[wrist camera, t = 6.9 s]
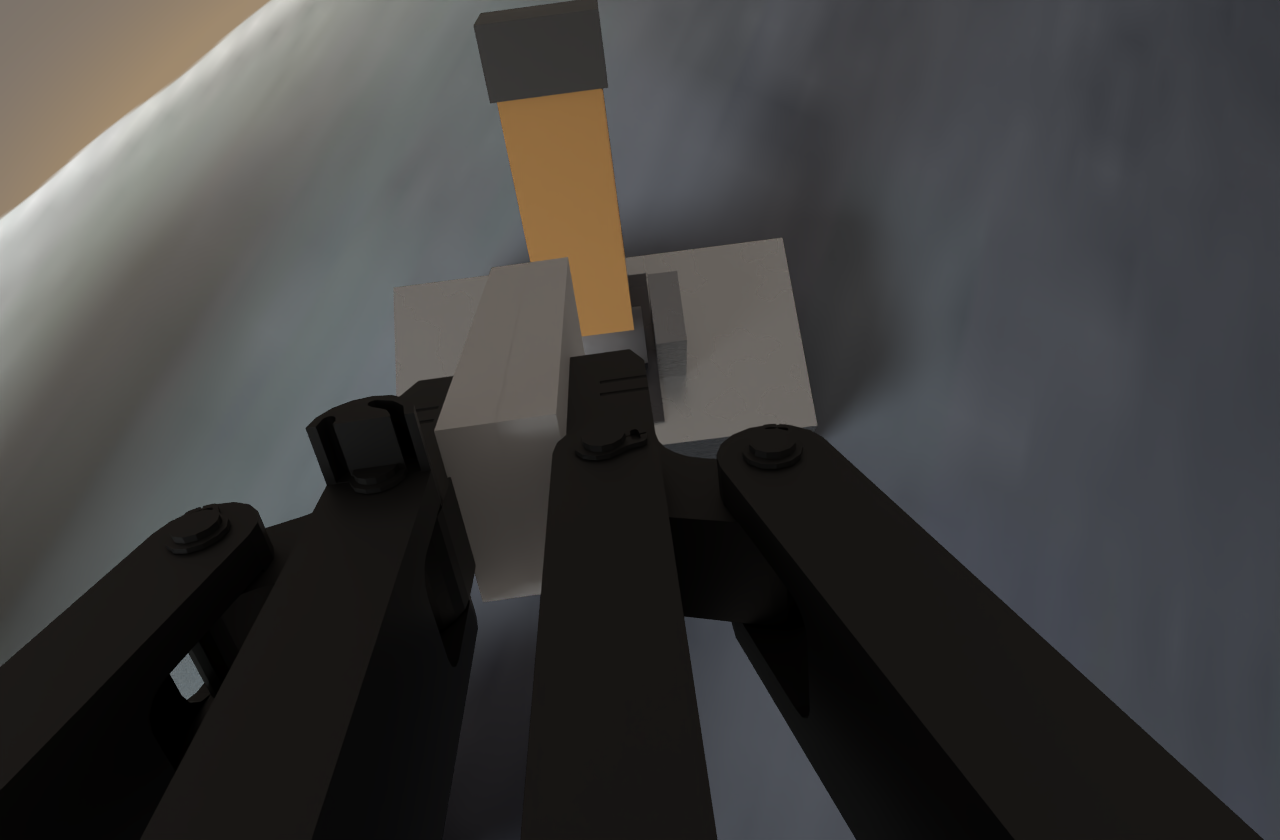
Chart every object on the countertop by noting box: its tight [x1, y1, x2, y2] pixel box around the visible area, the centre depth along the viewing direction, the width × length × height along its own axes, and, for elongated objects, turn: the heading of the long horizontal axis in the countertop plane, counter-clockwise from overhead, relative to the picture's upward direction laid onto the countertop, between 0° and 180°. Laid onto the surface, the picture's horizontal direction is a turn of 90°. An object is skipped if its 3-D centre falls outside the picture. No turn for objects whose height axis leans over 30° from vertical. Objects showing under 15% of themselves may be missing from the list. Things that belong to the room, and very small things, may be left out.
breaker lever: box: [474, 0, 648, 363], centre depth 30 cm, size 2×4×14 cm
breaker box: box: [394, 238, 817, 459], centre depth 36 cm, size 9×18×10 cm, turn 97°
